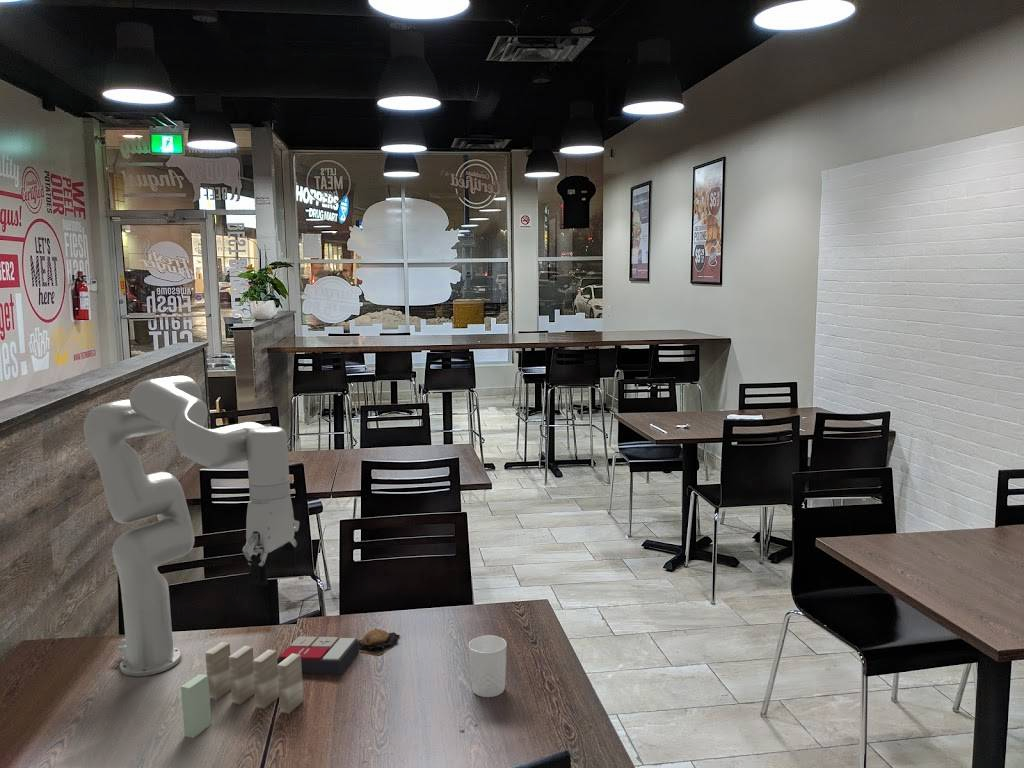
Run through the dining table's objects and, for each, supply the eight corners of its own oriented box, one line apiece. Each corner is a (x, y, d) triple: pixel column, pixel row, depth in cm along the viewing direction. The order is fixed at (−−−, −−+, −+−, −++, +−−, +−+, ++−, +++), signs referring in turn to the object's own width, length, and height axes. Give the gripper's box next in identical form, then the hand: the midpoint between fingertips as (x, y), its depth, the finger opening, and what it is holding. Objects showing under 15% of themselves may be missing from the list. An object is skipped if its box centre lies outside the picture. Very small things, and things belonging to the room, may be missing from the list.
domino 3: (232, 703, 158) (228, 656, 157) (247, 690, 163) (244, 645, 162) (240, 704, 158) (236, 658, 156) (255, 692, 162) (252, 646, 161)
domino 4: (255, 707, 157) (252, 660, 155) (271, 695, 161) (268, 649, 160) (264, 709, 156) (261, 662, 155) (279, 696, 161) (276, 650, 159)
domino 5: (280, 712, 155) (277, 664, 153) (294, 699, 159) (292, 653, 158) (288, 713, 154) (286, 666, 153) (303, 701, 159) (300, 654, 157)
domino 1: (184, 736, 147) (180, 686, 146) (203, 722, 152) (199, 673, 150) (193, 738, 146) (189, 688, 145) (211, 723, 151) (208, 675, 150)
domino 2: (208, 698, 160) (205, 652, 159) (224, 686, 165) (221, 641, 164) (216, 700, 160) (213, 654, 158) (232, 687, 164) (229, 643, 163)
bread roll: (381, 659, 177) (380, 644, 177) (350, 652, 180) (349, 637, 180) (405, 639, 187) (404, 624, 186) (375, 633, 190) (374, 618, 190)
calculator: (297, 634, 182) (358, 635, 179) (299, 651, 182) (359, 653, 179) (275, 656, 171) (339, 658, 168) (277, 675, 171) (340, 676, 169)
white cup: (513, 684, 164) (512, 639, 163) (497, 702, 157) (496, 655, 155) (480, 676, 167) (479, 632, 166) (462, 694, 160) (461, 648, 159)
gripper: (278, 478, 160) (283, 558, 162) (224, 501, 144) (230, 589, 146) (310, 480, 158) (314, 561, 160) (259, 504, 142) (264, 594, 144)
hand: (274, 575), depth 153 cm, fingers open, 9 cm apart
